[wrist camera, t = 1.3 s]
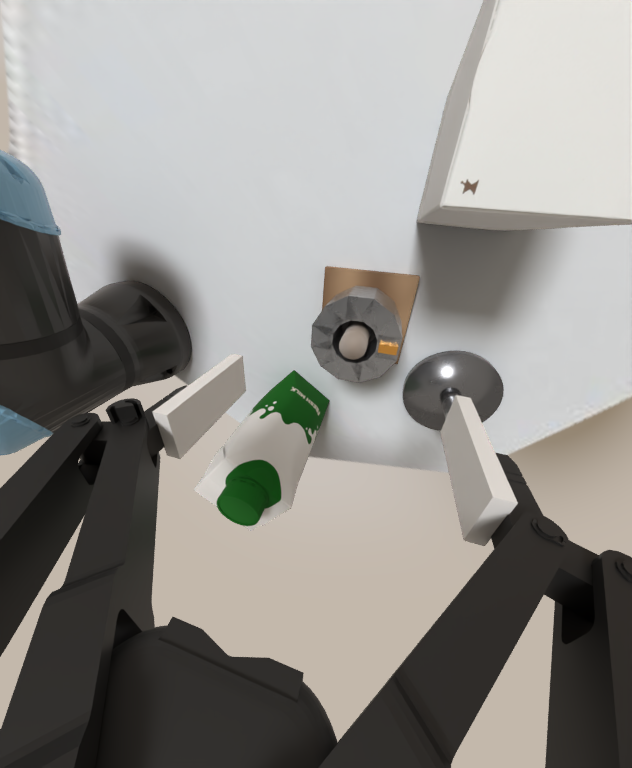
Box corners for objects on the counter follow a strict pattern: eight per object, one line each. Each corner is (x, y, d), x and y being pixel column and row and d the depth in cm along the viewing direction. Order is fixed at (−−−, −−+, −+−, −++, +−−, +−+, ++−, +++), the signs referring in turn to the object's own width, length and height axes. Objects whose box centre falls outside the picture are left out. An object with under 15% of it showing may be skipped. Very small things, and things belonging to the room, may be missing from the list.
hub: (394, 416, 36) (394, 455, 30) (415, 344, 31) (420, 373, 24) (478, 433, 34) (497, 479, 28) (517, 359, 29) (553, 396, 22)
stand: (321, 347, 34) (296, 384, 26) (327, 266, 29) (299, 279, 21) (397, 360, 32) (398, 404, 24) (419, 275, 27) (429, 294, 19)
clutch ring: (321, 354, 30) (308, 375, 26) (327, 282, 26) (312, 292, 21) (390, 365, 29) (389, 390, 24) (408, 291, 24) (411, 304, 20)
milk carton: (338, 400, 38) (292, 533, 21) (302, 430, 43) (242, 557, 26) (292, 361, 36) (206, 469, 20) (261, 396, 41) (170, 507, 25)
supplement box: (515, 233, 23) (651, 233, 11) (414, 223, 25) (433, 213, 13) (577, 89, 19) (944, -201, 6) (448, 88, 20) (532, -145, 8)
